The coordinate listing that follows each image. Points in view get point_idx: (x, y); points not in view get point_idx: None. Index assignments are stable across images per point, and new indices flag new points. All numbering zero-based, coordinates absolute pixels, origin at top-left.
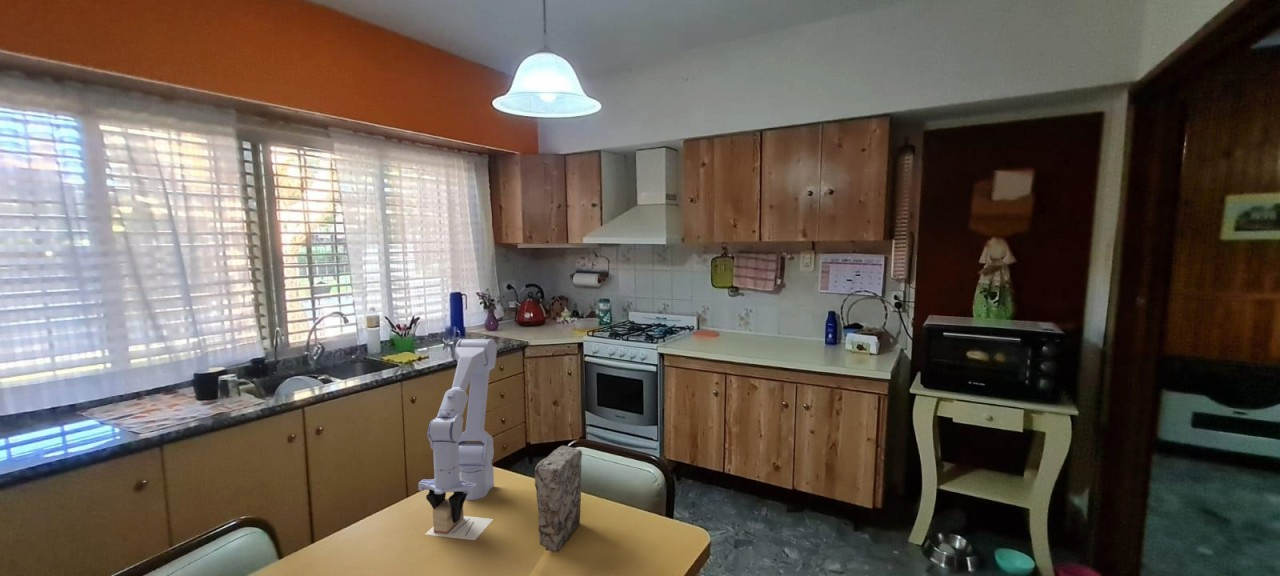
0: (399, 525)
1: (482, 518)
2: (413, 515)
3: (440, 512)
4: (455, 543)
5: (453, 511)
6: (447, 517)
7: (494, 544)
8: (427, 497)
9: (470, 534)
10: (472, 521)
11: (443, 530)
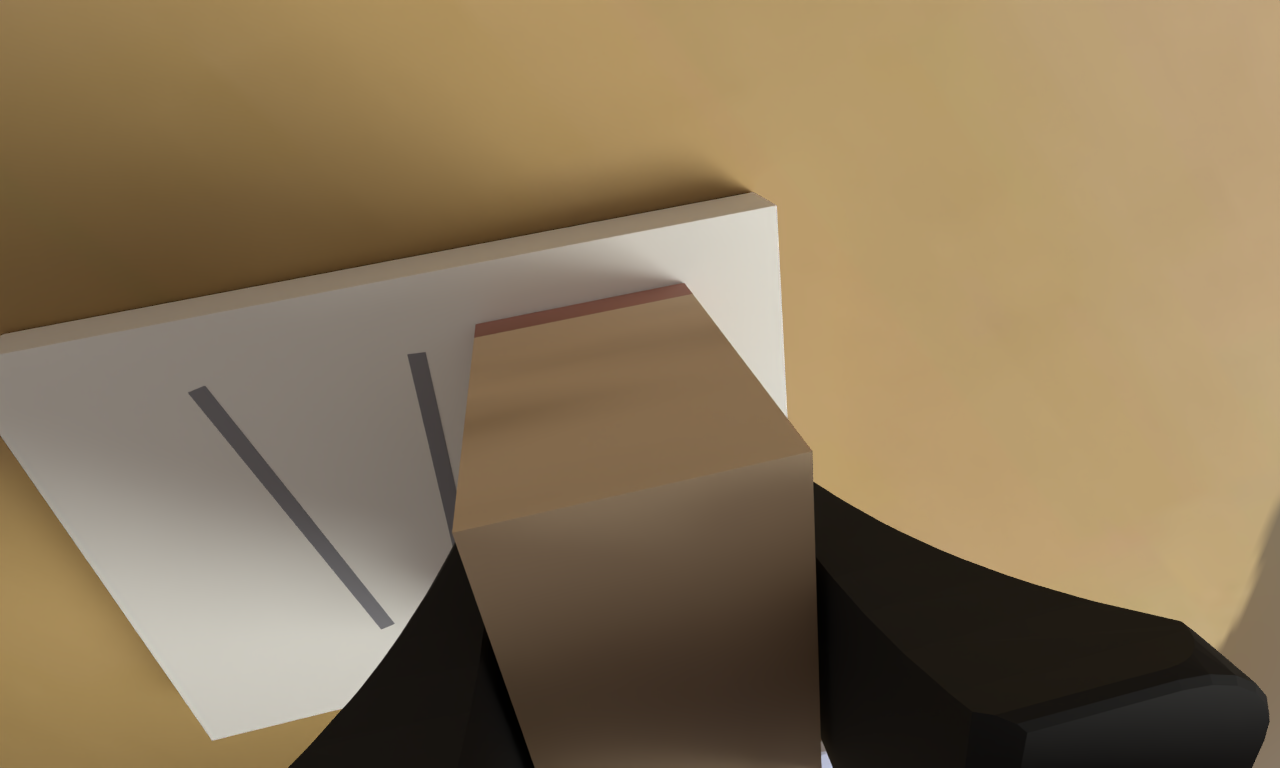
0: (1189, 297)
1: (343, 697)
2: (1129, 472)
3: (609, 475)
4: (298, 266)
5: (450, 617)
6: (468, 467)
7: None
8: (1194, 671)
9: (159, 436)
10: (403, 622)
11: (535, 328)
